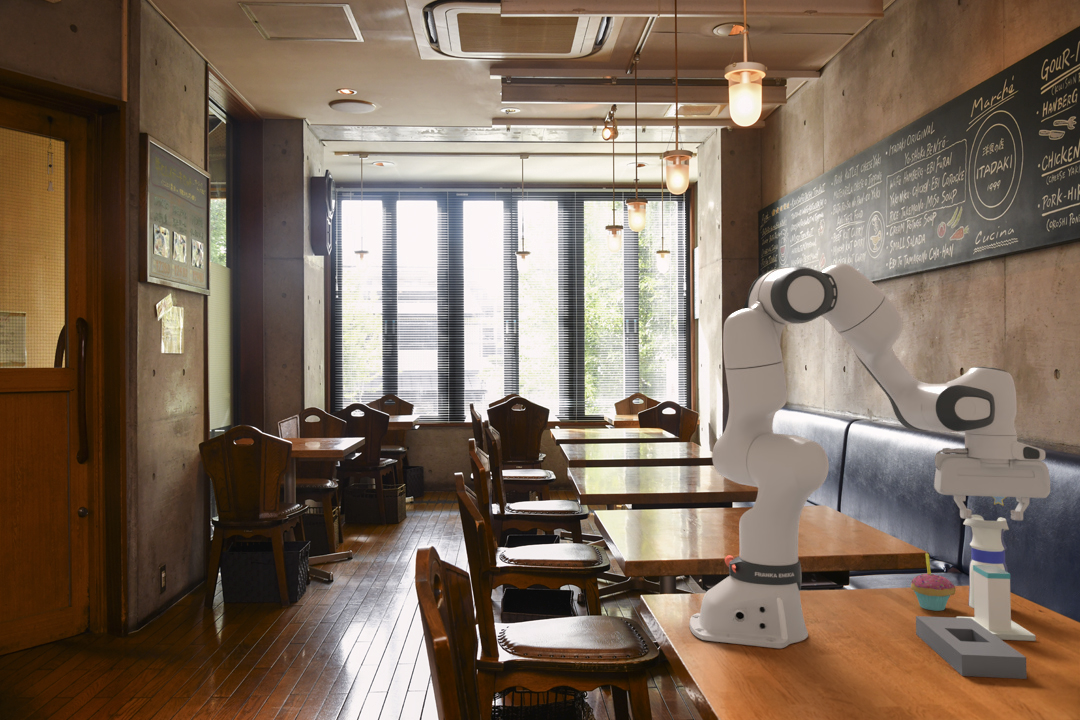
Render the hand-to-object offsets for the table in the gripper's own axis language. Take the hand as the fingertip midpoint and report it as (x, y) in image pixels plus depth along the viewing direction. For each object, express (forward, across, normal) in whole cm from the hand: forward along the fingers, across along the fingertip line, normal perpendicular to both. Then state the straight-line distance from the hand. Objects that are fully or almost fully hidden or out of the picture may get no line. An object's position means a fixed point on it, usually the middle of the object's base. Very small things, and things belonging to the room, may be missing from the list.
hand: (991, 519), depth 143 cm
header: (+22, -10, -14) cm, 28 cm away
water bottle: (+22, +6, +16) cm, 28 cm away
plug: (+21, 0, 0) cm, 21 cm away
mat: (+22, 0, 0) cm, 22 cm away
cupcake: (+22, -6, +14) cm, 27 cm away
